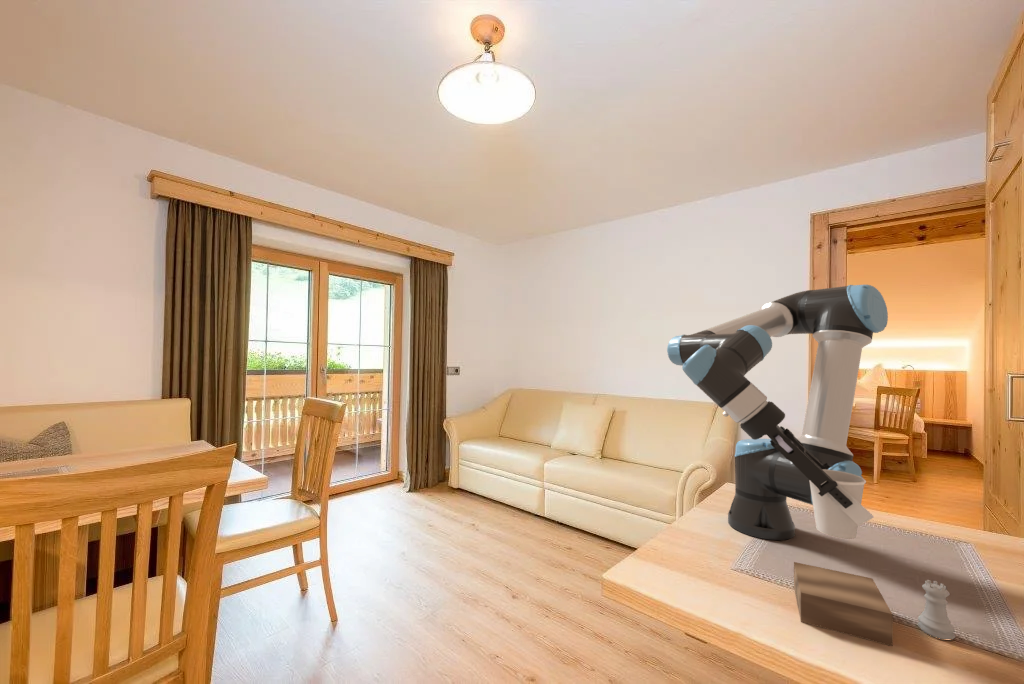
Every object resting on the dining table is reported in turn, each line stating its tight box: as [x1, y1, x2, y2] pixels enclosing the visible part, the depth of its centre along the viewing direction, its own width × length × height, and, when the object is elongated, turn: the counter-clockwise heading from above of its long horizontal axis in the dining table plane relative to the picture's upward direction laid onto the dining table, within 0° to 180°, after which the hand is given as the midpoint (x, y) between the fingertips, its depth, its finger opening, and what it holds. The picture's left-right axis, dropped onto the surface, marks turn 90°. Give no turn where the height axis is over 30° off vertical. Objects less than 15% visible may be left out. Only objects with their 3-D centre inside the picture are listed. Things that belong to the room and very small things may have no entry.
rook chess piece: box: [917, 579, 956, 640], centre depth 70 cm, size 4×4×8 cm
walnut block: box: [793, 561, 894, 647], centre depth 75 cm, size 12×12×5 cm
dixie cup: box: [809, 469, 867, 540], centre depth 75 cm, size 8×8×10 cm
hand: (859, 511), depth 73 cm, fingers closed on dixie cup, 8 cm apart
